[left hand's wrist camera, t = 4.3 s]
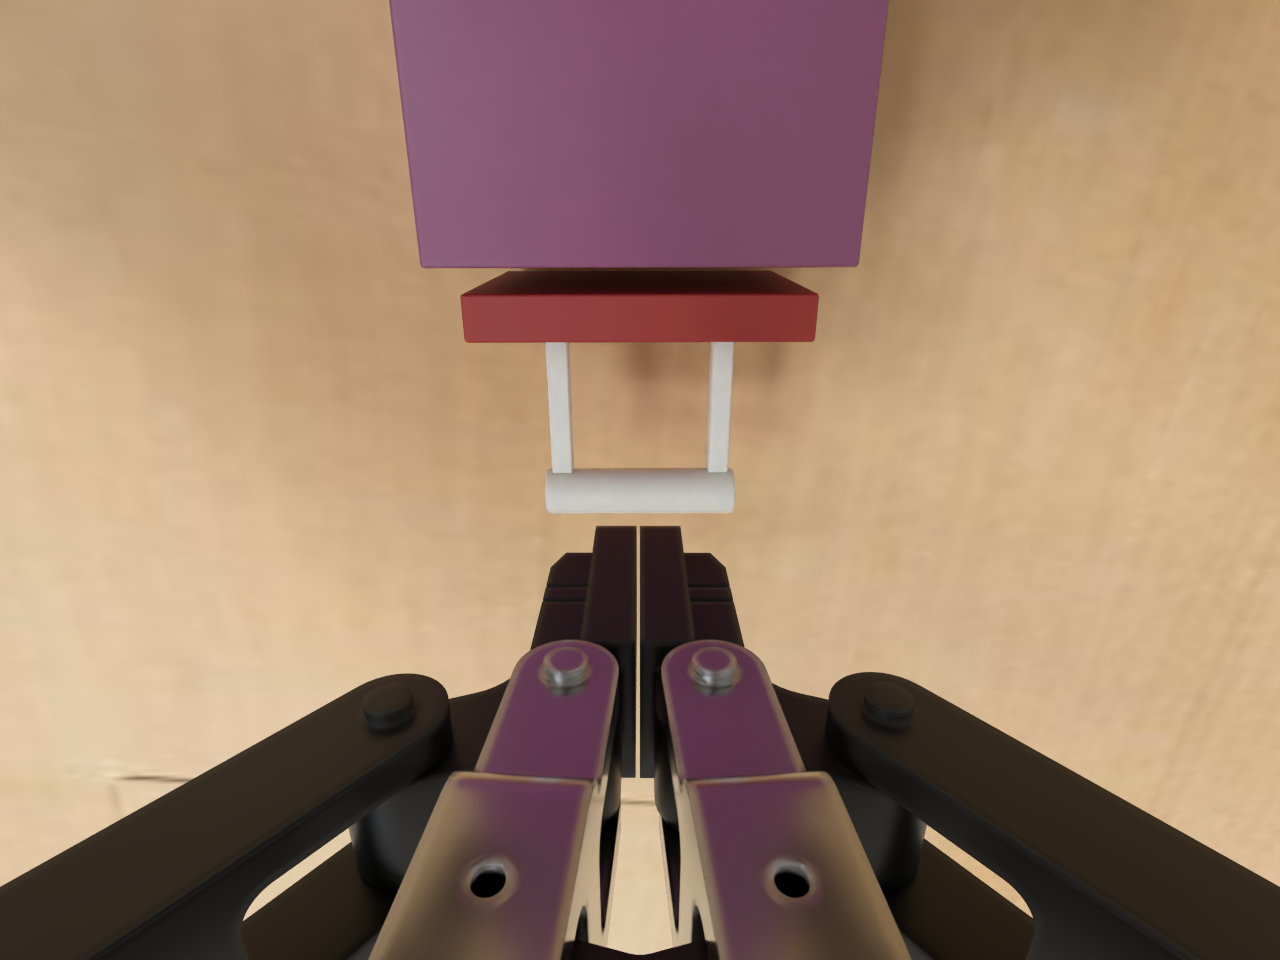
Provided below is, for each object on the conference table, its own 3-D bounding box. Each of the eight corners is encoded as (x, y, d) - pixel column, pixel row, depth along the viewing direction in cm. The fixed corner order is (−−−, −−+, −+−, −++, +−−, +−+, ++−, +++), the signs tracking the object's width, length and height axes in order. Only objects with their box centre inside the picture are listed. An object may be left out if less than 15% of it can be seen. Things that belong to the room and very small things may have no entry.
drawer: (759, 457, 25) (796, 536, 19) (520, 458, 25) (483, 537, 19) (815, -370, 17) (912, -683, 11) (460, -369, 17) (362, -681, 11)
